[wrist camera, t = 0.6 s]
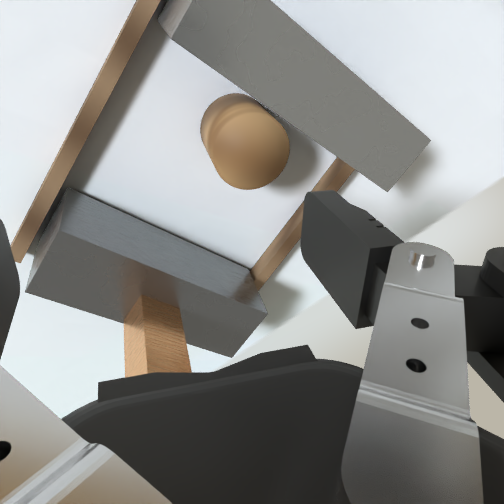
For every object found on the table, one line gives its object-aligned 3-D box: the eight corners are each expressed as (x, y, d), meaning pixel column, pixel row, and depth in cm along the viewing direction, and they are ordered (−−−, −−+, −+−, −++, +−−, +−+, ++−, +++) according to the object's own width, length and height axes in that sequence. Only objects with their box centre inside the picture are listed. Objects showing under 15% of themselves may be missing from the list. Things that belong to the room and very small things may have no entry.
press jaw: (67, 187, 30) (43, 306, 20) (248, 269, 38) (298, 384, 28) (38, 242, 32) (1, 378, 22) (217, 309, 40) (254, 433, 29)
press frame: (168, -63, 25) (171, -65, 23) (382, 116, 34) (392, 121, 33) (9, 246, 32) (5, 258, 31) (221, 323, 42) (224, 334, 40)
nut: (225, 78, 30) (243, 97, 26) (280, 117, 32) (304, 140, 28) (187, 140, 31) (197, 167, 27) (242, 173, 34) (259, 201, 30)
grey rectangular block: (191, -44, 25) (217, -46, 19) (369, 105, 33) (431, 140, 27) (157, 20, 27) (170, 38, 20) (336, 149, 35) (387, 192, 28)
